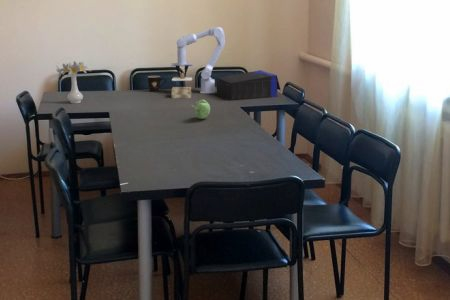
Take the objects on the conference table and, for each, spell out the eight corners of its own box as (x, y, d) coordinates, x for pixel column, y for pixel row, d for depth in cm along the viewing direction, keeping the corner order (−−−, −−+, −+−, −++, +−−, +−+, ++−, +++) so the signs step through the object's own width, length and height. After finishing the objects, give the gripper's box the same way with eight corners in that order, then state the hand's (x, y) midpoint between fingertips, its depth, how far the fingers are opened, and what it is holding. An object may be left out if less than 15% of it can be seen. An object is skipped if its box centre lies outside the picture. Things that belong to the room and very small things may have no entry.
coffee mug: (146, 92, 389) (145, 77, 387) (151, 89, 397) (150, 75, 395) (162, 92, 386) (161, 78, 383) (166, 90, 394) (166, 76, 391)
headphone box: (280, 97, 371) (281, 74, 368) (230, 101, 359) (230, 78, 355) (264, 90, 394) (264, 69, 390) (216, 94, 381) (216, 72, 377)
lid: (192, 78, 391) (192, 72, 390) (191, 80, 378) (191, 74, 377) (173, 78, 391) (173, 72, 390) (171, 80, 378) (171, 74, 377)
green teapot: (187, 118, 313) (187, 98, 310) (206, 116, 317) (206, 96, 314) (195, 122, 302) (195, 102, 299) (215, 120, 307) (214, 100, 304)
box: (191, 94, 380) (191, 87, 378) (190, 98, 368) (190, 90, 367) (172, 94, 379) (172, 87, 378) (171, 98, 368) (171, 90, 367)
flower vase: (58, 101, 358) (55, 61, 352) (88, 99, 364) (85, 60, 357) (59, 105, 347) (56, 64, 340) (90, 103, 352) (88, 62, 345)
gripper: (170, 57, 377) (171, 78, 380) (192, 57, 377) (192, 78, 381) (171, 56, 383) (171, 76, 387) (192, 56, 384) (193, 76, 387)
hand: (182, 77), depth 384 cm, fingers closed on lid, 3 cm apart
